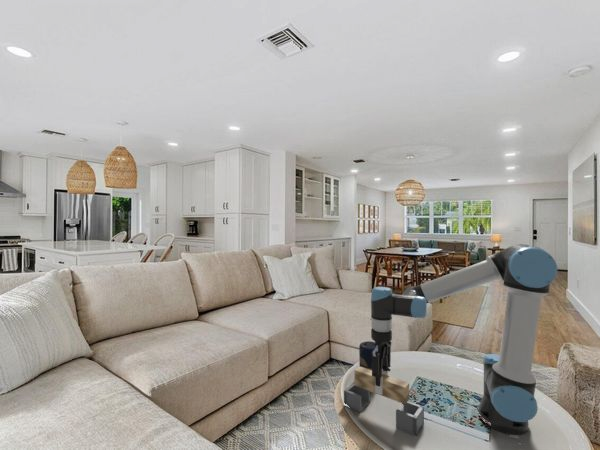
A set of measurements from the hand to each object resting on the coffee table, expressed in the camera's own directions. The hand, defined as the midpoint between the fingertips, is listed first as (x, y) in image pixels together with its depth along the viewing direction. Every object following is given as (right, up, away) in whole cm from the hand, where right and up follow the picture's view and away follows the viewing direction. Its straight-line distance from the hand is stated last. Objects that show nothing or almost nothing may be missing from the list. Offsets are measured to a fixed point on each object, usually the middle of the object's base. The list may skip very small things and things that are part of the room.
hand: (381, 390), depth 116 cm
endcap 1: (-8, -9, +7) cm, 14 cm away
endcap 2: (+8, -9, -7) cm, 14 cm away
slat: (0, -1, 0) cm, 1 cm away
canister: (+1, -9, +24) cm, 25 cm away
